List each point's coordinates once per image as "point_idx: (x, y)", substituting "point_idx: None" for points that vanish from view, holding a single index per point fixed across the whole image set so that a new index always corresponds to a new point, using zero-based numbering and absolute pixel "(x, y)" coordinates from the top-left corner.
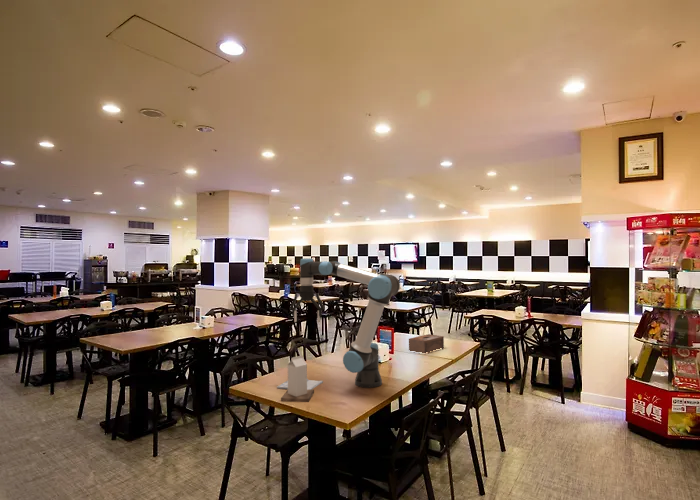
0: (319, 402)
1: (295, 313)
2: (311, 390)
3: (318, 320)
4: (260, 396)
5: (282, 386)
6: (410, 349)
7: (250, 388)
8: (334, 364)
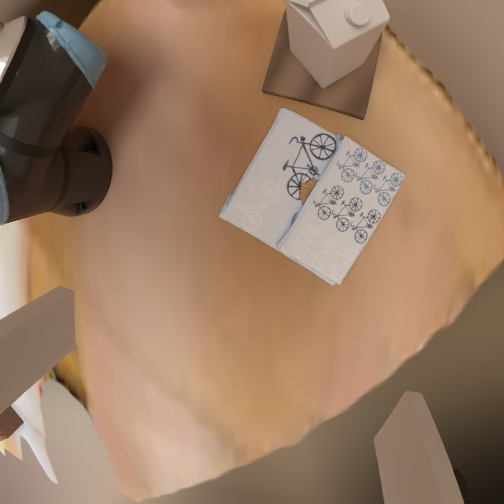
0: (250, 4)
1: (443, 497)
2: (272, 83)
3: (49, 297)
4: (449, 104)
5: (385, 168)
6: (18, 421)
7: (482, 204)
8: (174, 411)
